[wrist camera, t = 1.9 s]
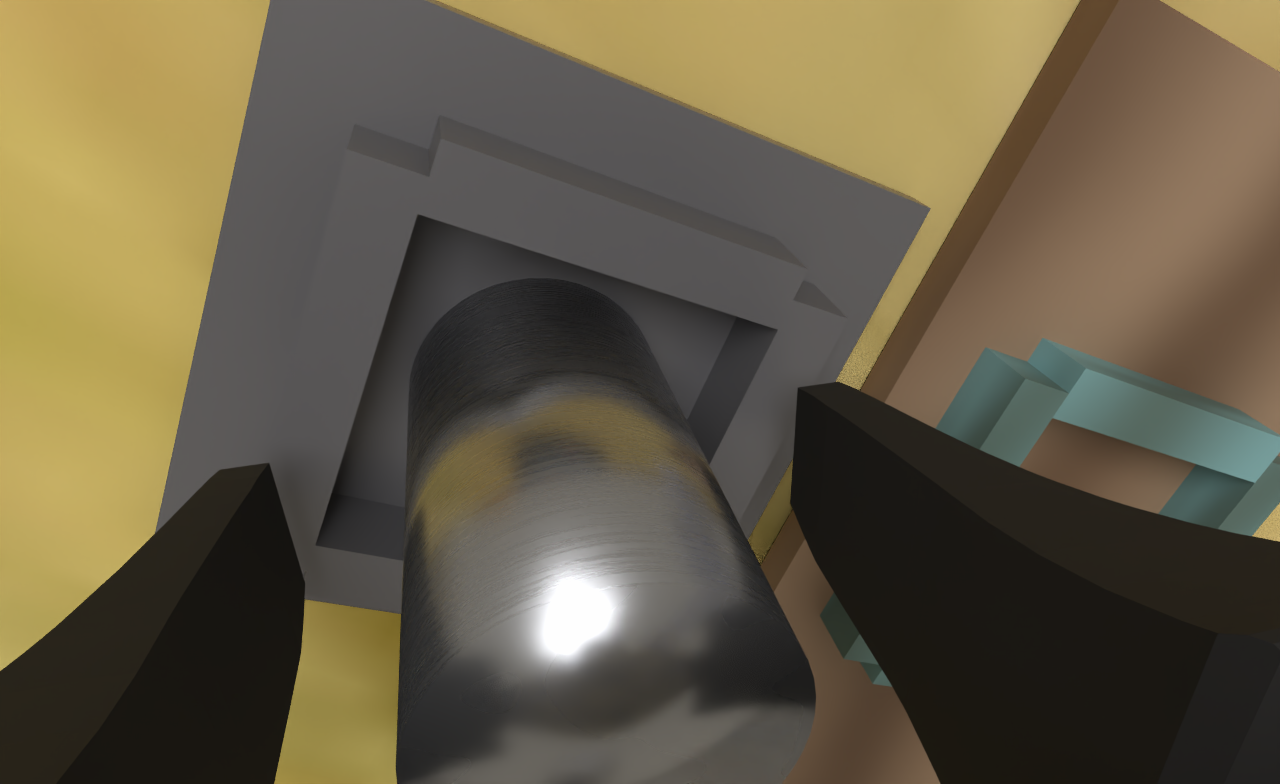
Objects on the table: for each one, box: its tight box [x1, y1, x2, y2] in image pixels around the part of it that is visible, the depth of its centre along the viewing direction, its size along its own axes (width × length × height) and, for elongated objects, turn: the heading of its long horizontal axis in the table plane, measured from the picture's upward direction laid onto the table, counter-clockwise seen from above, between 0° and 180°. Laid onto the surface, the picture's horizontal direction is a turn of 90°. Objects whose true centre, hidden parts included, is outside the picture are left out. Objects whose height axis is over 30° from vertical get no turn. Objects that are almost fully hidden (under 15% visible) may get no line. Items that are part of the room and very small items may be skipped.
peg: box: [396, 278, 816, 784], centre depth 11 cm, size 4×4×7 cm
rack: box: [761, 0, 1280, 784], centre depth 18 cm, size 10×18×2 cm, turn 157°
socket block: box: [155, 0, 931, 614], centre depth 14 cm, size 10×10×2 cm
